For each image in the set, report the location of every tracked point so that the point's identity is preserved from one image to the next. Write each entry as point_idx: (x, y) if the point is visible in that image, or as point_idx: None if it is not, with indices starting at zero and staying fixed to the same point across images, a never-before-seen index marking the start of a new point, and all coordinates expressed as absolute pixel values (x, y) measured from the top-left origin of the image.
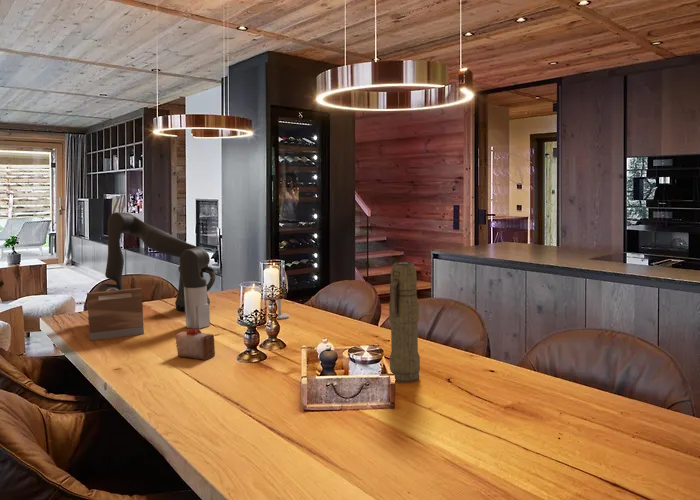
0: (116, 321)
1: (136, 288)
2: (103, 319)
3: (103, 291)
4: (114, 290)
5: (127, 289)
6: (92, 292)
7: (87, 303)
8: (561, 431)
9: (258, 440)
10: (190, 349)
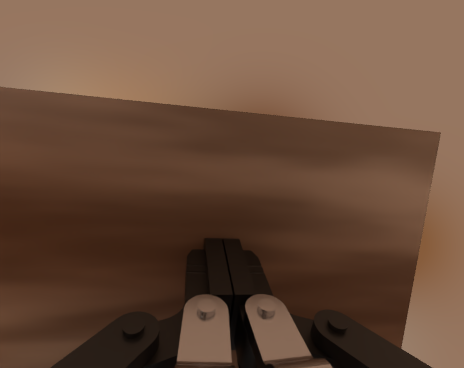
0: None
1: (12, 88)
2: None
3: (319, 120)
4: (230, 111)
5: (110, 99)
6: (399, 128)
7: (419, 219)
8: None
9: None
10: None
